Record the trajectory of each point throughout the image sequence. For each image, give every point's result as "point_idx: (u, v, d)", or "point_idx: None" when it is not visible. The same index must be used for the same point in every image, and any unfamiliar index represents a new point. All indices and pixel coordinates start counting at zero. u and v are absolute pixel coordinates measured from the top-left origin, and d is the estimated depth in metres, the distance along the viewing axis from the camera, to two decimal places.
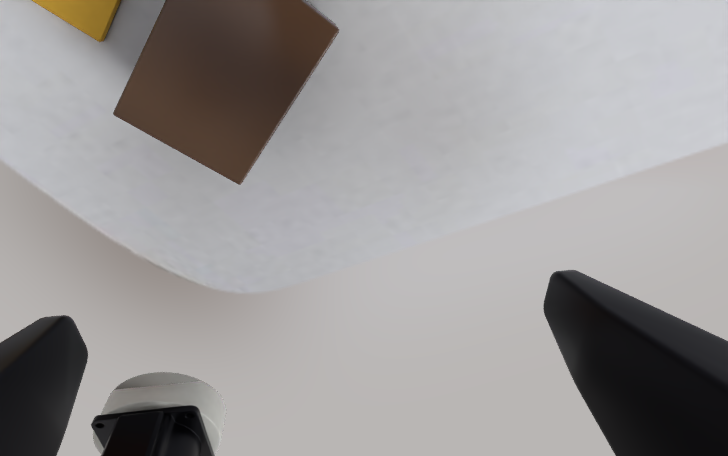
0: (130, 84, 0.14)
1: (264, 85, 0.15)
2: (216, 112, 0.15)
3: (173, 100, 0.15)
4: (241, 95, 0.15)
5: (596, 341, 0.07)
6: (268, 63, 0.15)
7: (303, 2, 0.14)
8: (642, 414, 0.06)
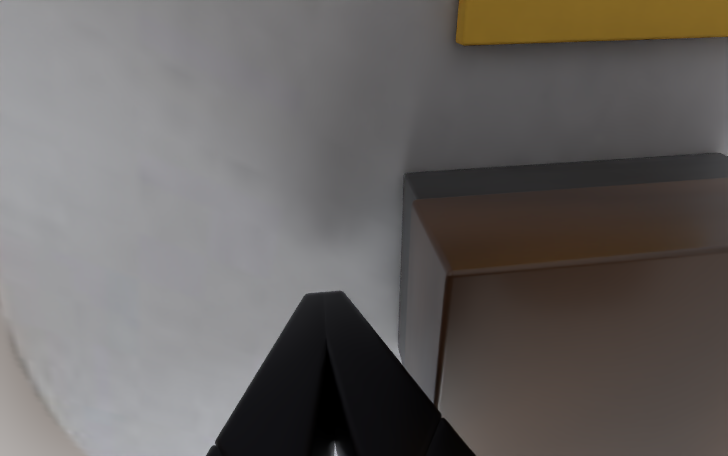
0: (556, 271, 0.05)
1: (654, 435, 0.07)
2: (565, 413, 0.07)
3: (559, 351, 0.06)
4: (620, 423, 0.07)
5: None
6: (699, 421, 0.07)
7: None
8: (342, 452, 0.06)
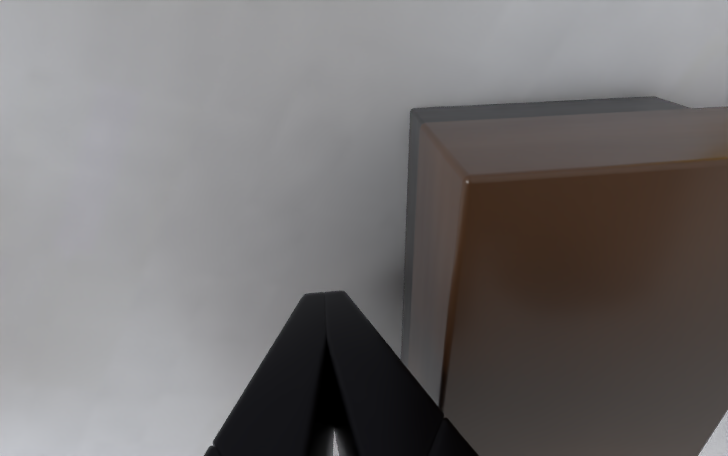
0: None
1: (513, 415, 0.06)
2: (603, 318, 0.05)
3: (716, 281, 0.05)
4: (554, 377, 0.06)
5: None
6: (521, 443, 0.07)
7: None
8: (344, 452, 0.06)
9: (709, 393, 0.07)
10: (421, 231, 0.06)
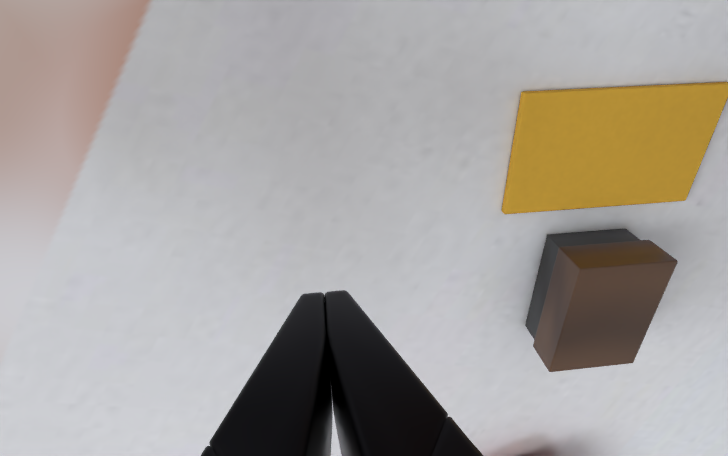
0: (666, 283, 0.21)
1: (583, 329, 0.22)
2: (609, 300, 0.21)
3: (638, 291, 0.21)
4: (595, 317, 0.21)
5: (331, 369, 0.07)
6: (584, 339, 0.22)
7: (573, 368, 0.23)
8: (347, 451, 0.06)
9: (640, 324, 0.22)
10: (556, 276, 0.22)
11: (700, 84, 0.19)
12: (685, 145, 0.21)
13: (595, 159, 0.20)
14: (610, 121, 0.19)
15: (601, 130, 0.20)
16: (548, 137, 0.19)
